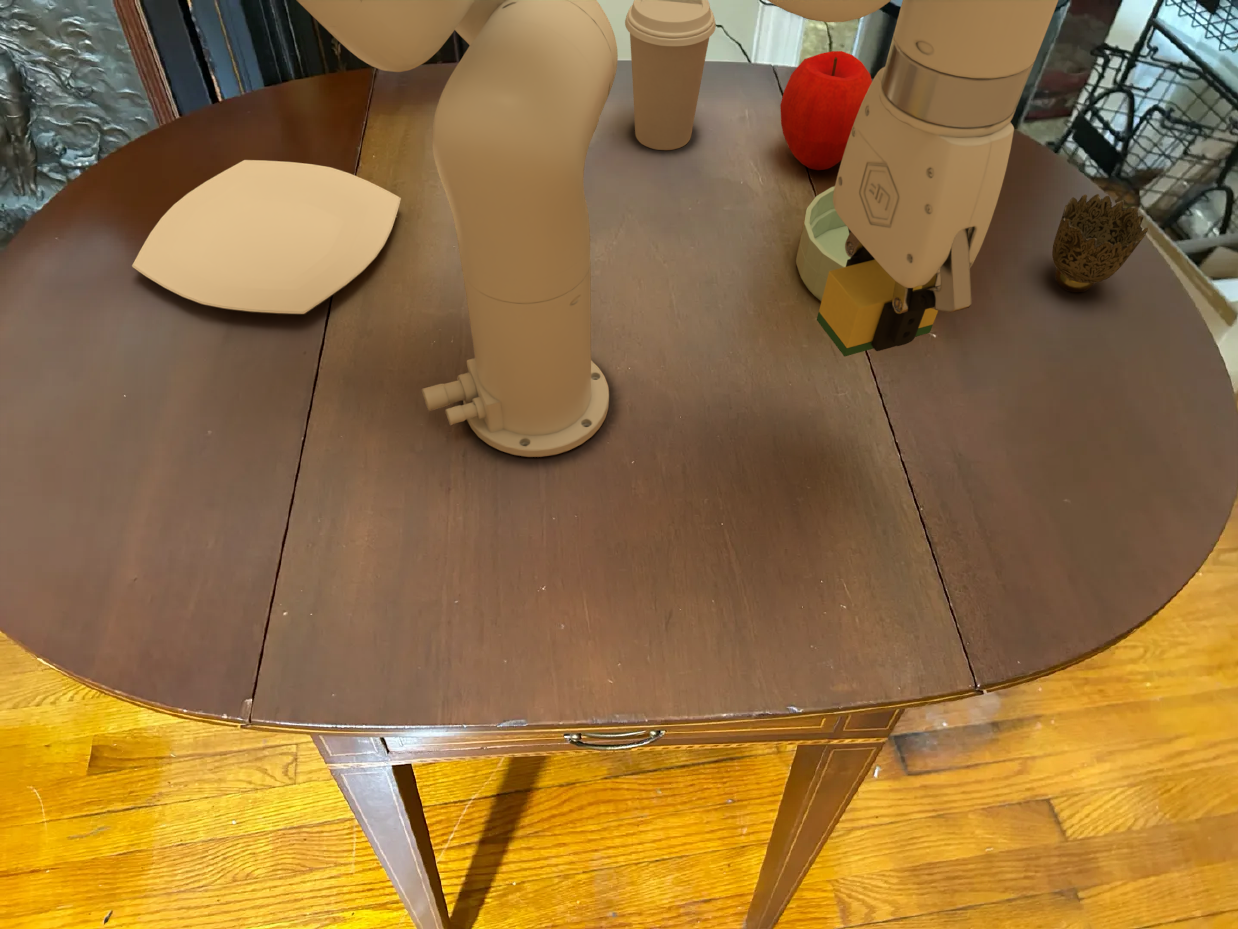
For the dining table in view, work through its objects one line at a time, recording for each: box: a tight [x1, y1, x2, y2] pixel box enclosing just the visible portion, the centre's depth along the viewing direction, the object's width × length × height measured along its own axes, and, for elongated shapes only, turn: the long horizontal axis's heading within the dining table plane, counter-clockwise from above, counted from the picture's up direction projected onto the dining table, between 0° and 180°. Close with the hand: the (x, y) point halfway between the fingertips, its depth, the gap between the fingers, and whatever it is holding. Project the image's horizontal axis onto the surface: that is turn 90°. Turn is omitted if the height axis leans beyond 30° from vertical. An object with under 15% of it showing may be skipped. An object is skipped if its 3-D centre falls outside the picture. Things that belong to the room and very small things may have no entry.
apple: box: [779, 50, 873, 171], centre depth 98 cm, size 10×10×12 cm
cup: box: [1051, 193, 1149, 293], centre depth 88 cm, size 8×7×8 cm
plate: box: [131, 159, 402, 316], centre depth 91 cm, size 23×23×2 cm
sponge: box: [816, 260, 939, 357], centre depth 63 cm, size 7×4×4 cm, turn 111°
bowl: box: [795, 185, 851, 302], centre depth 89 cm, size 15×15×6 cm
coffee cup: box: [624, 0, 717, 151], centre depth 100 cm, size 10×10×15 cm
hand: (874, 319), depth 64 cm, fingers closed on sponge, 4 cm apart
